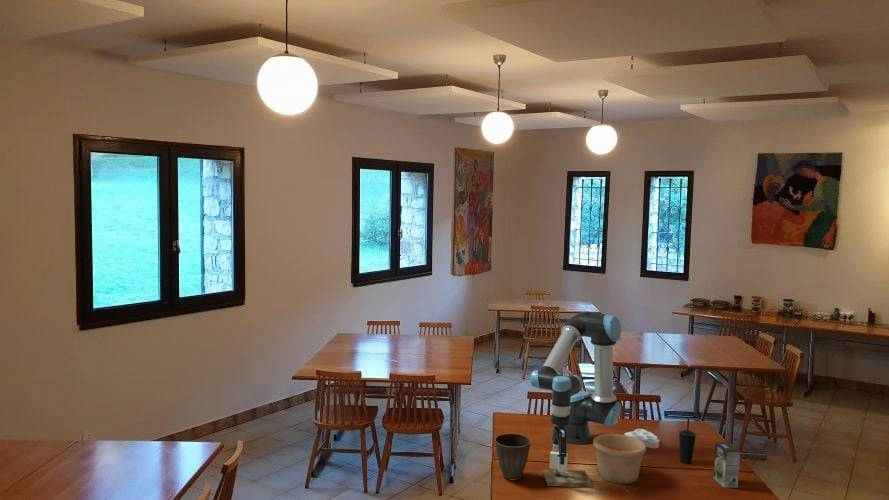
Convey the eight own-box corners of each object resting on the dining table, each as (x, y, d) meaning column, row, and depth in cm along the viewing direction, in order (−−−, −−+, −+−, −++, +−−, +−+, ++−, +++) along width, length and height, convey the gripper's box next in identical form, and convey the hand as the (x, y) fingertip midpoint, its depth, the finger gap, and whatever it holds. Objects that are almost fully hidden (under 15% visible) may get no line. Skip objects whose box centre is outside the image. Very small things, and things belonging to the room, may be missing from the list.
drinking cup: (696, 466, 289) (698, 422, 287) (678, 464, 291) (680, 421, 289) (693, 459, 297) (695, 417, 295) (675, 457, 298) (678, 415, 296)
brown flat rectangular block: (547, 486, 265) (547, 481, 265) (542, 474, 277) (542, 469, 277) (591, 487, 265) (591, 482, 265) (584, 475, 277) (584, 470, 277)
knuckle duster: (621, 435, 326) (648, 434, 328) (637, 449, 308) (666, 448, 310) (621, 429, 326) (649, 428, 328) (637, 442, 308) (666, 441, 310)
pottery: (587, 464, 289) (588, 432, 288) (637, 466, 288) (638, 434, 287) (597, 485, 267) (598, 451, 266) (650, 487, 266) (652, 453, 265)
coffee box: (712, 478, 277) (714, 441, 276) (727, 478, 277) (729, 441, 276) (723, 488, 268) (725, 450, 266) (738, 487, 268) (740, 449, 267)
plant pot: (506, 487, 263) (507, 449, 262) (487, 473, 276) (488, 436, 275) (536, 480, 270) (537, 443, 269) (516, 467, 283) (517, 431, 282)
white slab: (574, 478, 268) (575, 456, 267) (549, 474, 271) (550, 453, 270) (575, 475, 270) (576, 454, 269) (550, 471, 273) (550, 451, 273)
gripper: (575, 424, 257) (573, 477, 259) (564, 405, 281) (561, 454, 283) (556, 423, 257) (554, 477, 259) (546, 404, 281) (544, 453, 282)
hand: (558, 465), depth 271 cm, fingers open, 11 cm apart
